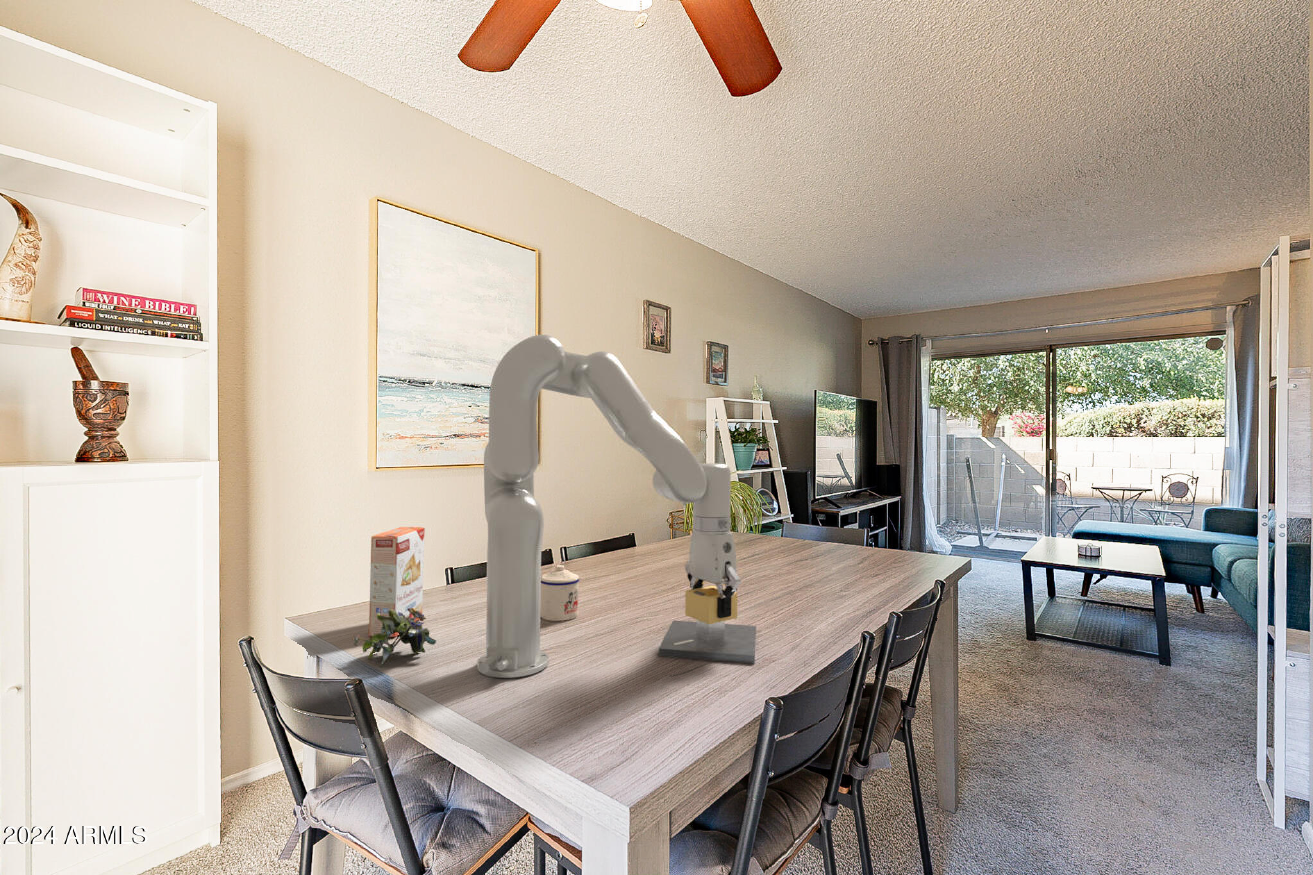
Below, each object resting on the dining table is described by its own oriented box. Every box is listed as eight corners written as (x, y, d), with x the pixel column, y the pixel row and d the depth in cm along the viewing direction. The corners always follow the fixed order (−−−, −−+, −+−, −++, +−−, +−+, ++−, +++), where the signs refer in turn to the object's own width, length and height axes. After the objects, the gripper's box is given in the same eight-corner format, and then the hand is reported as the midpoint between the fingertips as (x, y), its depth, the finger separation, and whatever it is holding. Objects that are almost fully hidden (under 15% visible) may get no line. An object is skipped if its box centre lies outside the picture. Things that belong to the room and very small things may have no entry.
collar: (737, 618, 121) (737, 591, 121) (708, 624, 116) (708, 597, 116) (713, 609, 127) (713, 584, 127) (685, 614, 122) (685, 588, 122)
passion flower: (414, 682, 114) (451, 632, 113) (370, 694, 104) (411, 639, 103) (380, 641, 118) (416, 593, 118) (335, 648, 108) (374, 596, 108)
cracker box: (396, 638, 122) (398, 536, 122) (367, 638, 122) (368, 535, 122) (424, 618, 136) (425, 526, 136) (398, 617, 136) (399, 525, 136)
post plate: (754, 663, 111) (754, 633, 111) (658, 656, 114) (659, 627, 114) (755, 632, 129) (756, 607, 129) (672, 627, 132) (673, 602, 132)
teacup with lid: (571, 623, 134) (571, 571, 134) (532, 620, 136) (533, 568, 136) (588, 608, 146) (588, 560, 146) (552, 606, 147) (553, 558, 147)
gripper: (755, 528, 116) (754, 619, 116) (699, 518, 131) (698, 599, 131) (726, 531, 112) (725, 626, 112) (671, 520, 126) (670, 604, 126)
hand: (710, 611), depth 121 cm, fingers closed on collar, 7 cm apart
